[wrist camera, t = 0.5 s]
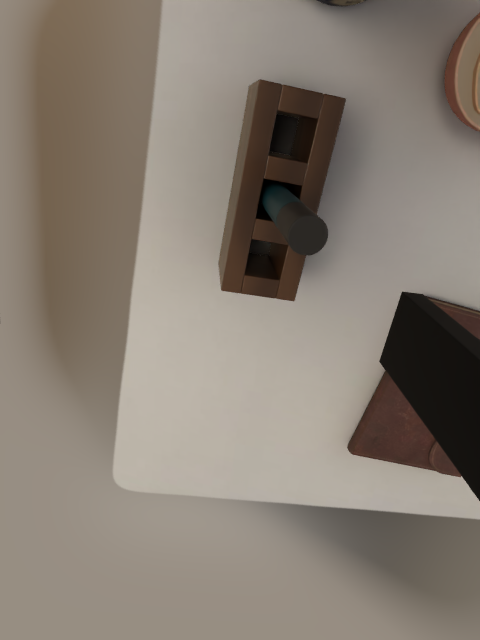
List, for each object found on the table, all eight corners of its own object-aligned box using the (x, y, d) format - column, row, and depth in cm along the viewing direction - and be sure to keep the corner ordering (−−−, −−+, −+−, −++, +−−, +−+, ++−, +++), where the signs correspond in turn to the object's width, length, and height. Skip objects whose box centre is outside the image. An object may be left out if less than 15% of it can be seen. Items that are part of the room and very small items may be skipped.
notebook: (345, 444, 52) (350, 456, 50) (421, 294, 44) (430, 302, 42) (454, 466, 55) (463, 478, 53) (543, 329, 47) (556, 337, 45)
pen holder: (218, 263, 41) (221, 290, 35) (249, 85, 35) (259, 79, 29) (280, 273, 42) (294, 301, 36) (321, 101, 36) (346, 98, 30)
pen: (249, 182, 38) (280, 227, 23) (272, 170, 38) (319, 207, 23) (260, 205, 39) (297, 262, 24) (282, 193, 39) (334, 244, 24)
